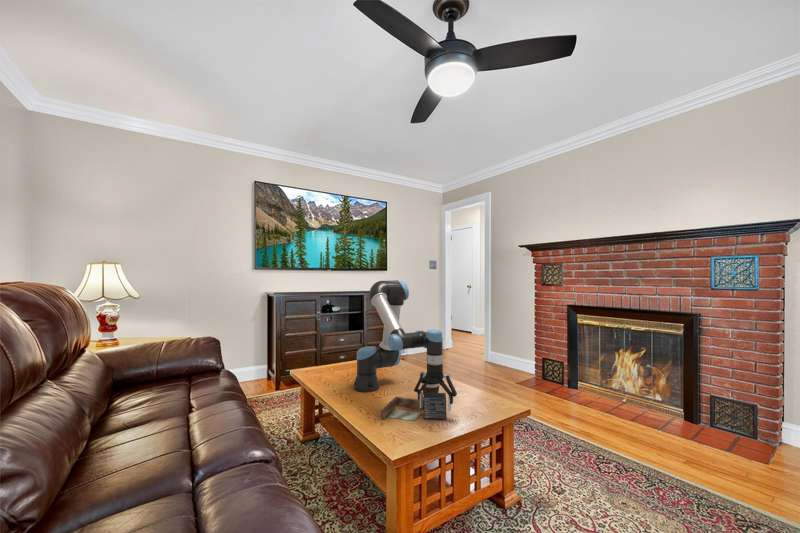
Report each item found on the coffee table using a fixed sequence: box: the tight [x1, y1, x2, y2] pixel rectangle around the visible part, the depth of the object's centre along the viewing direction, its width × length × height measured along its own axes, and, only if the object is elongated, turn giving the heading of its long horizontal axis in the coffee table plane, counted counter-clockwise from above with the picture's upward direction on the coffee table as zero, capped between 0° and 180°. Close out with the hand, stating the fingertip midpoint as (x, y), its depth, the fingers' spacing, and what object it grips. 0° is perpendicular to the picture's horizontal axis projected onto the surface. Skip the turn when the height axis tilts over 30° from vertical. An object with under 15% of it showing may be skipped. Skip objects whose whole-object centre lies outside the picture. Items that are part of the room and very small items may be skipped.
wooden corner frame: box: [380, 396, 424, 422], centre depth 158 cm, size 18×18×4 cm
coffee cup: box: [421, 376, 440, 396], centre depth 174 cm, size 11×11×12 cm
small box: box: [423, 392, 447, 421], centre depth 155 cm, size 11×6×10 cm, turn 84°
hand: (435, 409), depth 155 cm, fingers open, 13 cm apart
